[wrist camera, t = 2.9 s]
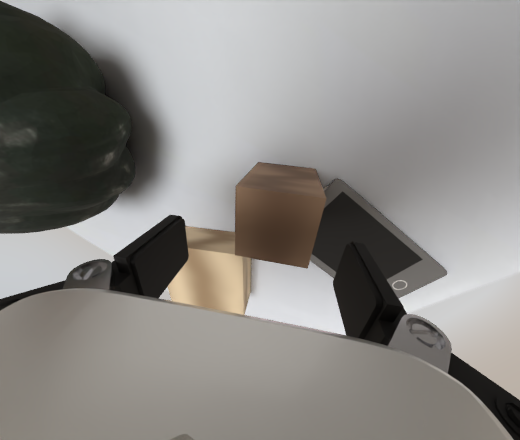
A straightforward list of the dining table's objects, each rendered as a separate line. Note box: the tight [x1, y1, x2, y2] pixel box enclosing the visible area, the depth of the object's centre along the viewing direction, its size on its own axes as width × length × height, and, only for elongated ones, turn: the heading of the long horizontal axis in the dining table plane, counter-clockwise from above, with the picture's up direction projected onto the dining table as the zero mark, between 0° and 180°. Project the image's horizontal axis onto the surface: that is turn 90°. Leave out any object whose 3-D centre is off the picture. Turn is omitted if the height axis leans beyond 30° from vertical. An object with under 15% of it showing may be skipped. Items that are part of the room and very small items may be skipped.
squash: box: [0, 1, 135, 233], centre depth 13 cm, size 14×15×15 cm
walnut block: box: [235, 162, 326, 268], centre depth 14 cm, size 5×5×7 cm
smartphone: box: [310, 179, 447, 298], centre depth 19 cm, size 15×8×1 cm, turn 54°
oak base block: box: [168, 226, 251, 315], centre depth 22 cm, size 9×9×4 cm
